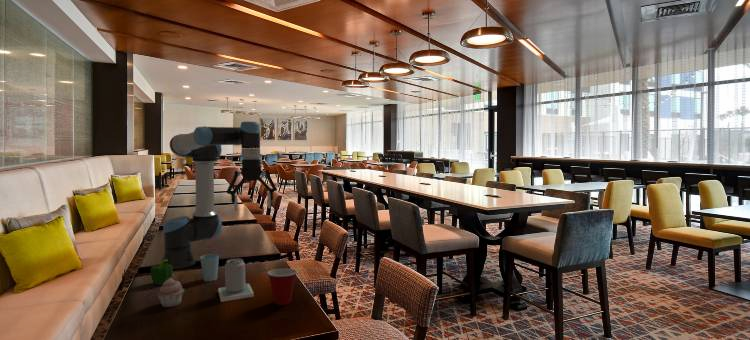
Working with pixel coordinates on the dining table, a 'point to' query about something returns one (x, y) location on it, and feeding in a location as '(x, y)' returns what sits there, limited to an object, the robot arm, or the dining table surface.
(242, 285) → the can
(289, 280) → the plastic cup
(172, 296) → the cupcake
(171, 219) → the robot arm
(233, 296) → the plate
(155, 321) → the dining table surface
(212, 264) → the cup
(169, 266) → the bell pepper
